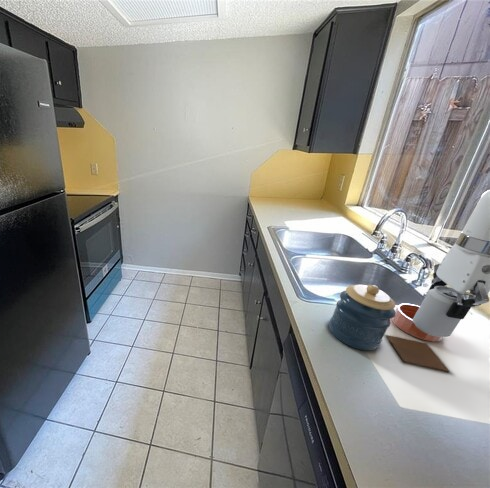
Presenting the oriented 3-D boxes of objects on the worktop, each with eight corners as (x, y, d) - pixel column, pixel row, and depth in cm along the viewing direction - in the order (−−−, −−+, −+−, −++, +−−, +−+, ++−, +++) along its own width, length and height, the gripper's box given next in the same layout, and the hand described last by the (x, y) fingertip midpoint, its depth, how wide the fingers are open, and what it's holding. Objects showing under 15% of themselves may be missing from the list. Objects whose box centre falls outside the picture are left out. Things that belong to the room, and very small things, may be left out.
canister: (389, 345, 74) (416, 295, 67) (358, 356, 70) (384, 304, 63) (347, 316, 86) (366, 271, 78) (318, 324, 81) (336, 277, 74)
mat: (425, 344, 76) (426, 343, 75) (448, 372, 67) (449, 371, 67) (386, 336, 78) (386, 335, 78) (403, 361, 69) (404, 360, 69)
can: (410, 328, 69) (431, 291, 64) (411, 315, 74) (431, 280, 69) (450, 344, 64) (476, 305, 59) (448, 329, 69) (471, 292, 64)
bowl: (426, 320, 86) (433, 308, 84) (451, 346, 75) (460, 333, 73) (384, 312, 89) (390, 300, 87) (403, 336, 78) (410, 323, 76)
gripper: (540, 265, 50) (489, 334, 57) (472, 233, 65) (438, 291, 73) (491, 258, 52) (447, 326, 59) (436, 229, 67) (407, 286, 74)
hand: (443, 306), depth 66 cm, fingers closed on can, 7 cm apart
